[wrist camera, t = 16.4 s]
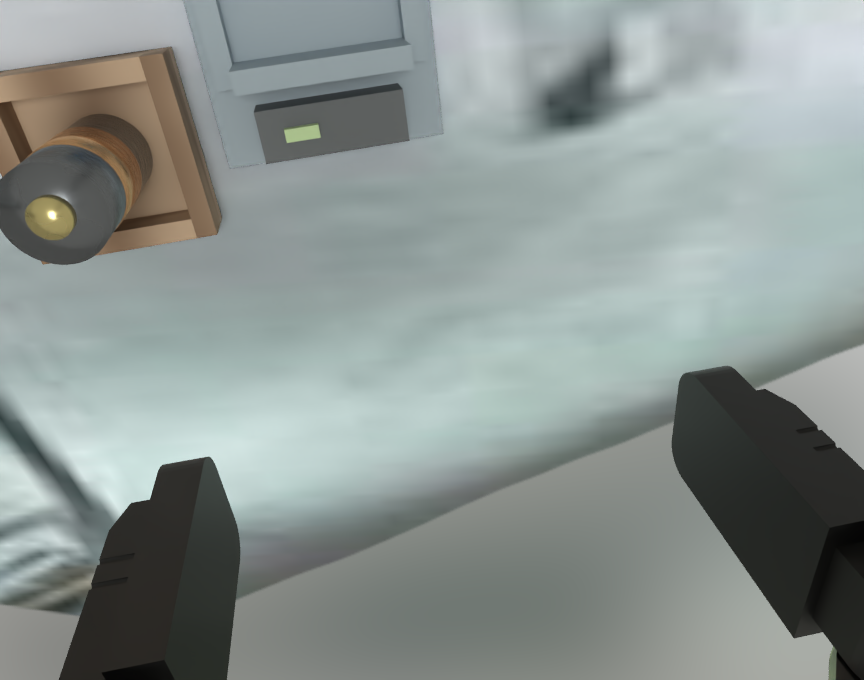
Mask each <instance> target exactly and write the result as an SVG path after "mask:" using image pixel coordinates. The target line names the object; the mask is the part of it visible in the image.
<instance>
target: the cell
mask: <svg viewBox="0 0 864 680" xmlns="http://www.w3.org/2000/svg"><path fill="white" fill-rule="evenodd" d="M152 168H153V157H152V152H151V149H150V147H149V144H148V142H147V141H146V139H145V138H144V136H143V135H142V134H141V133H140V131H139V130H138V129H137V128H135V127H134V126H133V125H132V124H130V123H129V122H127V121H125V120H123V119H121V118H119V117H116V116H113V115H108V114H93V115H88V116H85V117H83V118H81V119H79V120H77V121H76V122H75V123H73V124H72V125H71V126H69V127H68V128H67V129H65V130H63V131H61V132H60V133H58V134H56V135H55V136H54V137H52V138H51V139H50V140H48V141H47V142H45V143H44V144H43V145H41V146H40V147H39V148H37V149H36V150H35V151H33V152H32V153H31V154H30V155H28V157H27V158H26V159H25V160H24V161H22V162H21V163H20V164H18V165H17V166H16V167H14V168H13V169H11V170H10V171H9V172H8V173H6V174H5V175H4V176H3V177H2V179H1V180H0V229H1V230H2V232H3V233H4V235H5V236H6V237H7V238H8V240H9V241H10V242H11V243H12V244H13V245H15V246H16V247H17V248H18V249H20V250H21V251H22V252H24V253H26V254H27V255H29V256H31V257H33V258H35V259H38V260H41V261H44V262H47V263H52V264H60V265H68V264H75V263H80V262H83V261H86V260H88V259H90V258H92V257H93V256H95V255H96V254H97V253H99V252H100V251H101V250H102V248H103V247H104V246H105V244H106V243H107V241H108V240H109V238H110V237H111V235H112V234H113V232H114V231H115V230H116V229H117V228H118V227H119V225H120V224H121V223H122V221H123V220H124V218H125V217H126V215H127V214H128V212H129V211H130V209H131V208H132V206H133V205H134V203H135V201H136V200H137V198H138V196H139V194H140V192H141V190H142V189H143V187H144V186H145V184H146V183H147V181H148V180H149V178H150V176H151V173H152Z"/></svg>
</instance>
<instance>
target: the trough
mask: <svg viewBox="0 0 864 680" xmlns="http://www.w3.org/2000/svg"><path fill="white" fill-rule="evenodd" d="M93 114H108V115H113V116H116V117H119V118H121V119H123V120H125V121H127V122H129V123H130V124H132V125H133V126H134V127H135V128H137V129H138V130H139V131H140V133H141V134H142V135H143V136H144V138H145V139H146V141H147V142H148V144H149V147H150V149H151V152H152V157H153V168H152V173H151V176H150V178H149V180H148V181H147V183H146V184H145V186H144V187H143V189H142V190H141V192H140V194H139V196H138V198H137V200H136V201H135V203H134V205H133V206H132V208H131V209H130V211H129V212H128V214H127V215H126V217H125V218H124V220H123V221H122V223H121V224H120V225H119V227H118V228H117V229H116V230H115V231H114V232H113V234H112V235H111V237H110V238H109V240H108V241H107V243H106V244H105V246H104V247H103V248H102V250H101V251H100V252H99V253H97V254H96V255H101V254H107V253H113V252H119V251H125V250H130V249H136V248H142V247H148V246H154V245H160V244H165V243H171V242H177V241H183V240H189V239H194V238H200V237H206V236H212V235H217V233H218V230H219V226H220V223H221V219H222V216H221V213H220V210H219V206H218V203H217V199H216V196H215V193H214V189H213V186H212V183H211V179H210V176H209V172H208V169H207V166H206V162H205V159H204V156H203V152H202V149H201V145H200V142H199V139H198V135H197V132H196V128H195V125H194V122H193V118H192V115H191V112H190V108H189V105H188V101H187V98H186V95H185V91H184V88H183V84H182V81H181V78H180V74H179V71H178V68H177V64H176V61H175V57H174V54H173V51H172V47H166V48H159V49H152V50H145V51H138V52H131V53H124V54H118V55H111V56H104V57H97V58H90V59H83V60H76V61H69V62H62V63H55V64H49V65H42V66H35V67H28V68H21V69H14V70H7V71H0V173H1V175H2V177H3V176H4V175H5V174H6V173H8V172H9V171H10V170H11V169H13V168H14V167H16V166H17V165H18V164H20V163H21V162H22V161H24V160H25V159H26V158H27V157H28V155H30V154H31V153H32V152H33V151H35V150H36V149H37V148H39V147H40V146H41V145H43V144H44V143H45V142H47V141H48V140H50V139H51V138H52V137H54V136H55V135H56V134H58V133H60V132H61V131H63V130H65V129H67V128H68V127H69V126H71V125H72V124H73V123H75V122H76V121H77V120H79V119H81V118H83V117H85V116H88V115H93ZM96 255H95V256H96ZM41 262H42V264H49V263H47V262H44V261H41Z"/></svg>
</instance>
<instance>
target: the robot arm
mask: <svg viewBox="0 0 864 680" xmlns="http://www.w3.org/2000/svg"><path fill="white" fill-rule="evenodd" d="M672 452H673V457H674V461H675V464H676V467H677V469H678V471H679V473H680V475H681V477H682V478H683V480H684V481H685V483H686V484H687V486H688V487H689V488H690V490H691V491H692V492H693V494H694V495H695V497H696V498H697V500H698V501H699V503H700V504H701V506H702V507H703V509H704V510H705V511H706V513H707V514H708V516H709V517H710V519H711V520H712V521H713V523H714V524H715V526H716V527H717V529H718V530H719V531H720V533H721V534H722V535H723V537H724V539H725V540H726V542H727V543H728V544H729V546H730V547H731V549H732V550H733V551H734V553H735V554H736V556H737V557H738V559H739V560H740V562H741V563H742V564H743V566H744V567H745V568H746V570H747V572H748V573H749V574H750V576H751V577H752V579H753V580H754V581H755V583H756V584H757V586H758V587H759V589H760V590H761V592H762V593H763V595H764V596H765V597H766V599H767V600H768V602H769V603H770V605H771V606H772V608H773V609H774V610H775V612H776V613H777V615H778V616H779V617H780V619H781V620H782V622H783V623H784V625H785V626H786V628H787V629H788V630H789V632H790V633H791V635H792V636H793V638H797V637H802V636H807V635H812V634H816V633H820V632H823V633H824V634H825V635H826V637H827V638H828V639H829V641H830V642H831V643H832V645H833V648H832V651H831V654H830V659H829V680H864V470H863V469H862V468H861V467H860V466H859V465H858V464H857V463H856V462H855V461H854V460H853V459H852V458H851V457H849V456H848V455H847V454H846V453H845V452H844V451H843V450H842V449H841V448H837V447H836V446H835V442H834V441H833V440H832V439H831V438H830V437H828V436H827V435H826V434H825V433H824V432H823V431H822V430H818V429H817V425H816V424H815V423H814V422H813V421H812V420H810V418H808V417H807V416H806V415H805V414H804V413H803V412H802V411H801V410H800V409H799V408H798V407H797V406H796V405H794V404H792V403H791V402H789V401H786V400H785V399H783V398H781V397H779V396H777V395H775V394H773V393H772V392H770V391H768V390H766V389H763V390H757V391H756V390H755V389H754V388H753V387H752V386H751V385H750V384H749V383H748V382H747V381H746V380H745V379H744V378H743V377H742V376H741V375H740V374H739V373H738V372H737V371H736V370H735V369H734V368H732V367H730V366H722V367H716V368H711V369H705V370H700V371H694V372H688V373H685V374H683V375H682V377H681V379H680V381H679V387H678V395H677V403H676V411H675V419H674V427H673V435H672ZM99 560H100V565H97V568H96V571H95V574H94V577H93V580H92V583H91V585H92V589H91V590H89V592H88V595H87V598H86V601H85V604H84V607H83V610H82V612H81V615H80V618H79V621H78V625H77V627H76V630H75V634H74V636H73V639H72V642H71V645H70V648H69V651H68V654H67V657H66V660H65V663H64V666H63V669H62V672H61V675H60V678H59V680H227V672H228V663H229V654H230V646H231V636H232V628H233V618H234V609H235V600H236V591H237V582H238V573H239V564H240V541H239V533H238V528H237V524H236V521H235V518H234V515H233V512H232V510H231V507H230V504H229V501H228V499H227V496H226V493H225V490H224V488H223V485H222V482H221V479H220V477H219V474H218V471H217V468H216V466H215V463H214V461H213V460H212V459H211V458H210V457H204V458H199V459H193V460H187V461H182V462H176V463H170V464H165V465H162V466H161V467H160V469H159V471H158V473H157V477H156V481H155V484H154V488H153V491H152V495H151V498H150V500H146V501H140V502H135V503H131V504H130V505H129V506H128V508H127V509H126V510H125V511H124V513H123V514H122V515H121V516H120V518H119V519H118V520H117V521H116V523H115V524H114V525H113V526H112V528H111V529H110V530H109V533H108V536H107V539H106V541H105V544H104V547H103V550H102V553H101V556H100V559H99Z"/></svg>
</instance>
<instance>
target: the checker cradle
mask: <svg viewBox="0 0 864 680" xmlns="http://www.w3.org/2000/svg"><path fill="white" fill-rule="evenodd" d="M183 2H184V6H185V9H186V13H187V16H188V20H189V24H190V27H191V31H192V34H193V38H194V42H195V45H196V49H197V52H198V56H199V60H200V63H201V67H202V70H203V74H204V78H205V81H206V85H207V88H208V92H209V96H210V99H211V103H212V106H213V110H214V114H215V117H216V121H217V124H218V128H219V132H220V135H221V139H222V142H223V146H224V150H225V153H226V157H227V160H228V164H229V168H230V169H231V168H237V167H243V166H249V165H255V164H262V163H266V164H269V163H275V162H281V161H287V160H293V159H299V158H306V157H312V156H318V155H324V154H330V153H336V152H342V151H348V150H355V149H361V148H367V147H373V146H379V145H385V144H391V143H398V142H404V141H410V140H409V139H415V138H421V137H427V136H433V135H439V134H443V126H442V116H441V107H440V97H439V88H438V78H437V68H436V59H435V49H434V40H433V30H432V20H431V11H430V1H429V0H183Z"/></svg>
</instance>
